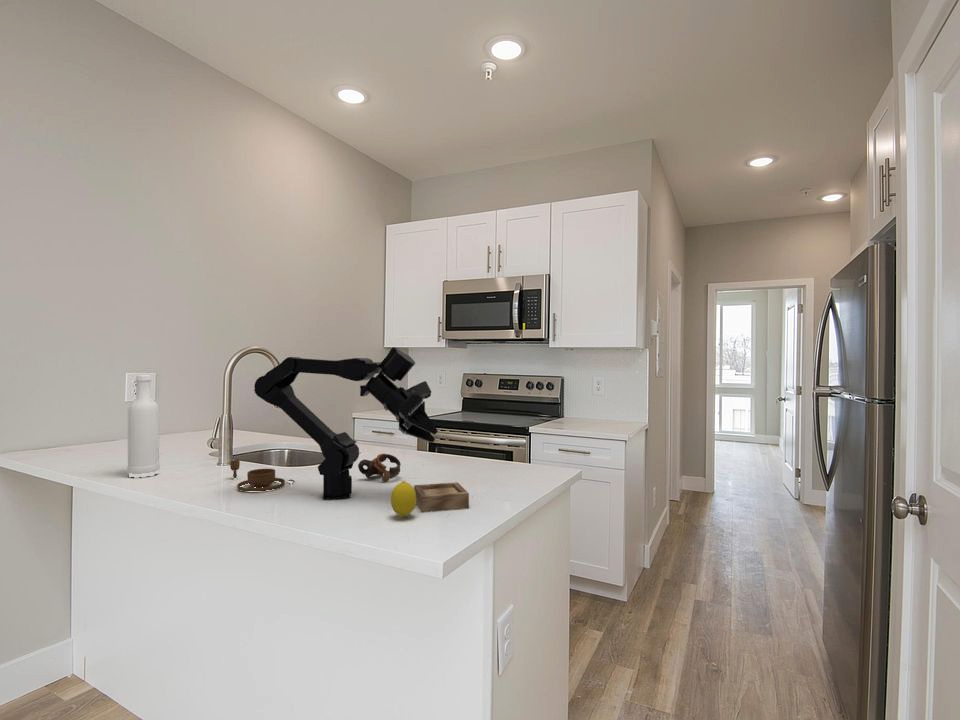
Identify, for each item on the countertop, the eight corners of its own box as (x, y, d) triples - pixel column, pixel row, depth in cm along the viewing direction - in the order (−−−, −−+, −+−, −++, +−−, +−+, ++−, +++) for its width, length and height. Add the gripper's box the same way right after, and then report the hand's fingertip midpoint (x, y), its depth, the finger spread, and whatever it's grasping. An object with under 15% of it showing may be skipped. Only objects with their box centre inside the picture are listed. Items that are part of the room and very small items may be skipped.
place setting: (222, 498, 128) (222, 475, 127) (227, 480, 146) (227, 460, 146) (296, 490, 135) (296, 469, 134) (292, 475, 153) (291, 455, 153)
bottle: (122, 479, 145) (122, 375, 145) (134, 473, 153) (134, 374, 153) (153, 477, 147) (153, 375, 147) (163, 471, 155) (163, 374, 155)
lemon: (392, 514, 113) (392, 478, 113) (416, 513, 113) (416, 477, 113) (389, 521, 107) (389, 484, 107) (415, 521, 108) (415, 483, 108)
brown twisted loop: (391, 475, 153) (400, 453, 150) (395, 496, 145) (405, 473, 142) (352, 468, 148) (361, 446, 145) (354, 490, 140) (364, 466, 137)
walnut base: (422, 512, 114) (422, 496, 114) (414, 499, 124) (414, 485, 124) (468, 508, 117) (468, 493, 117) (457, 495, 128) (457, 482, 128)
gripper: (412, 359, 119) (461, 403, 117) (410, 384, 136) (453, 423, 134) (378, 392, 115) (428, 438, 113) (381, 413, 132) (424, 453, 130)
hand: (435, 437), depth 123 cm, fingers open, 9 cm apart
